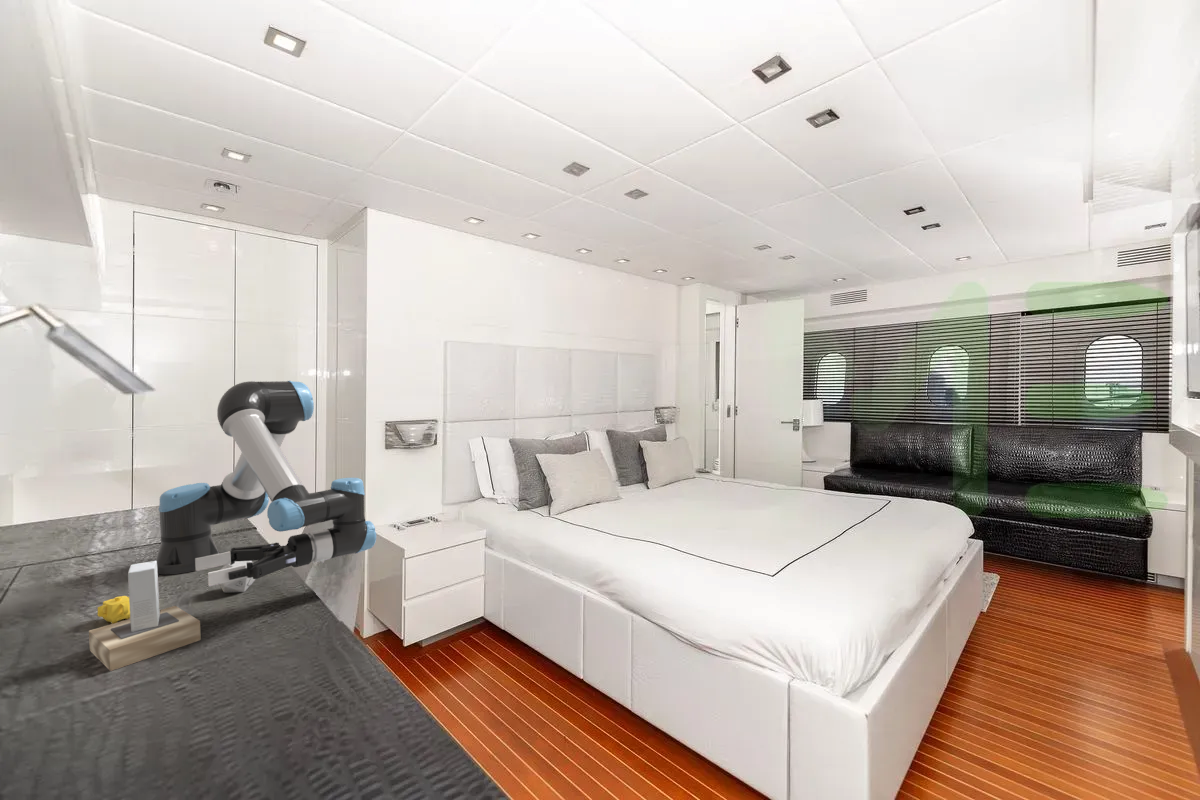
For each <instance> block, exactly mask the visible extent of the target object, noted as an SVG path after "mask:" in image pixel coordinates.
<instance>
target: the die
mask: <svg viewBox="0 0 1200 800" xmlns="http://www.w3.org/2000/svg"><path fill="white" fill-rule="evenodd" d="M247 562H253V561H235V563H234V564H232V565H230V564H226V565H222V566H223V567H221V568H220V570H222V569H226V568H231V567H235V566H240V565H244V564H245V565H246V568H247ZM255 581H256V579H253V577H251V578H247V576H246V578H242V579H238V580H234V581H230V582H226V583H221V584H219V586H220V588H221V589H222V591H223V593H245V592H247V590H248V588H249V587H251V585H252V584H253V583H254V582H255Z"/></svg>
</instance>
